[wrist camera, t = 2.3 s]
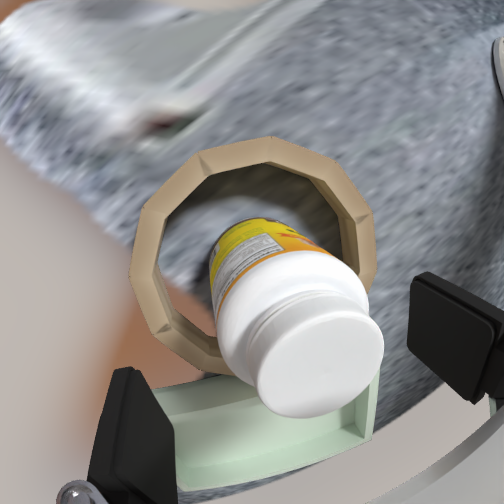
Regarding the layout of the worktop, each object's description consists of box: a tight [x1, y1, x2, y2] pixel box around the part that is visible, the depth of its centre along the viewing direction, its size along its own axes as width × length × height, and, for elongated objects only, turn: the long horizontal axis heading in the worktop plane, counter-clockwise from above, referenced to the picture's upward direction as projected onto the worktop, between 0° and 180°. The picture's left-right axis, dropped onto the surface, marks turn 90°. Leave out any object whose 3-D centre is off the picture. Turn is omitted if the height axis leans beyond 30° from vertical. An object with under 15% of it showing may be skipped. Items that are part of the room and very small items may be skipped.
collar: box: [129, 136, 377, 376], centre depth 16 cm, size 13×13×2 cm
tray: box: [151, 367, 380, 492], centre depth 19 cm, size 18×12×3 cm, turn 103°
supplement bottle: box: [209, 217, 384, 419], centre depth 12 cm, size 6×6×10 cm
